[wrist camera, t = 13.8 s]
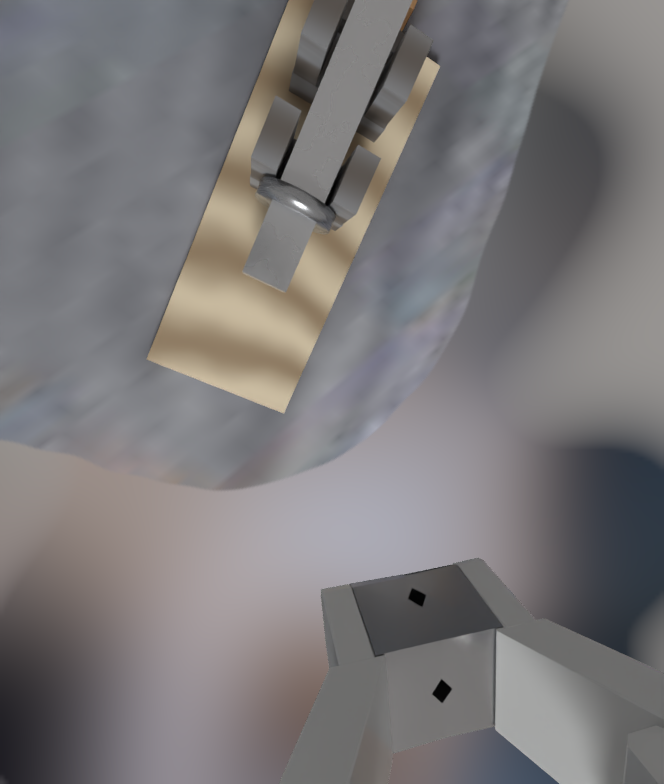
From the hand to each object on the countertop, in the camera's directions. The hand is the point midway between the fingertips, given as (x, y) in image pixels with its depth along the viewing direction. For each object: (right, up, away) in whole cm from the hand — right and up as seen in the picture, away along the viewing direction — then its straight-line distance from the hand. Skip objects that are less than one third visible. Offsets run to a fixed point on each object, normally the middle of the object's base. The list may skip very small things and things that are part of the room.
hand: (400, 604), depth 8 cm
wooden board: (-5, +19, +30) cm, 36 cm away
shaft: (-2, +23, +26) cm, 35 cm away
